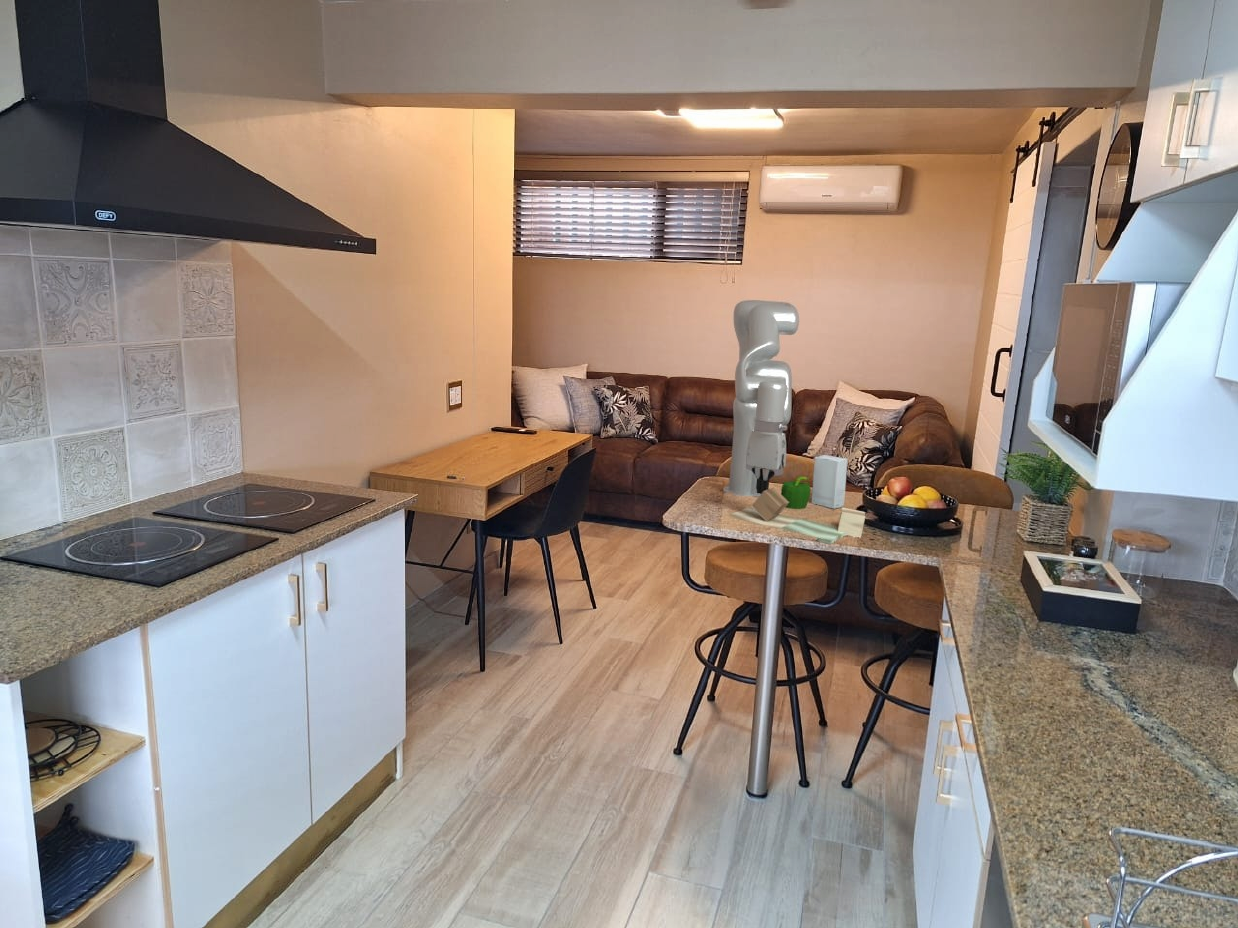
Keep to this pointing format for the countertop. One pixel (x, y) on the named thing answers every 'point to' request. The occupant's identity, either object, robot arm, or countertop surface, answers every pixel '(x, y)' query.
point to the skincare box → (829, 481)
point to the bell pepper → (796, 493)
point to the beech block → (851, 522)
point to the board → (793, 525)
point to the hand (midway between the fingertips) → (761, 492)
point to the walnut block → (769, 504)
